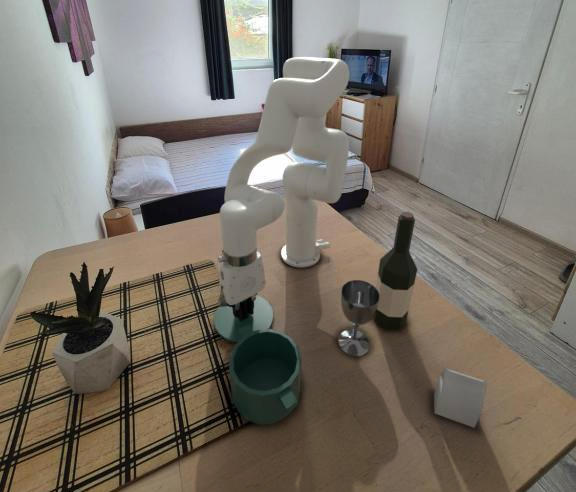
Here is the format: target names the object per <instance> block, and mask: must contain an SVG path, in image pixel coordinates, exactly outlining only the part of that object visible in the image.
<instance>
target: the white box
mask: <svg viewBox="0 0 576 492" xmlns="http://www.w3.org/2000/svg"><path fill="white" fill-rule="evenodd" d="M487 382H488V381H487V380H483V379H480V378H478V377H474V376H471V375H468V374H464V373H462V372H458V371H455V370H452V369H449V368H445V367H444V369H443V371H442V372H441V373H440V374H439V378H438V381H437V383H436V387H435V391H434V394H433V403H434V405H433V407H434V414H435V415H438V416H440V417H443V418H446V419H449V420H451V421H454V422H457V423H459V424H463V425H465V426H468V427H471V428H473V429H475V428H476V425H477V423H478V420H479V418H480V416H481V414H482V411H483V408H484V404H485V397H486V396H485V395H486V390H487V385H488V383H487Z"/></svg>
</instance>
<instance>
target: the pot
mask: <svg viewBox="0 0 576 492" xmlns="http://www.w3.org/2000/svg"><path fill="white" fill-rule="evenodd" d="M239 333H240V335H241V336H242V339H241V340H240V341H239V342H238V343H236V344H234V345H233V348H232V351H231V354H230V356H229V359H228V361H229V362H228V363H229V365H228V367H229V379H230V390H231V400H232V401H233V405H234V407H235V409H236V410H237V412H238V413H239V414H240V416H241V417H243V418H244V419H245V420H247V421H248V422H250V423H254V424H256V425H265V426H267V425H272V424H275V423H277V422H280V421H283V420H284V419H286V417H288V416H289V415H290V414H291V413H292V412H293V410H294V409H295V408H296V407H297V406H298V405H299V397H300V394H301V393H300V392H301V385H302V384H301V383H302V381H301V380H302V357H301V351H300V347H299V346H298V345H297V344H296V342H295V341H294V339H293V338H292V337H291V336H290V335H288V334H286V333H285V332H283V331H281V330H277V329H272V328H270V329H263V330H256V331H253V330H252V328H251V327H250V325H247V326H245V327H242V328H240V329H239Z"/></svg>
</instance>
